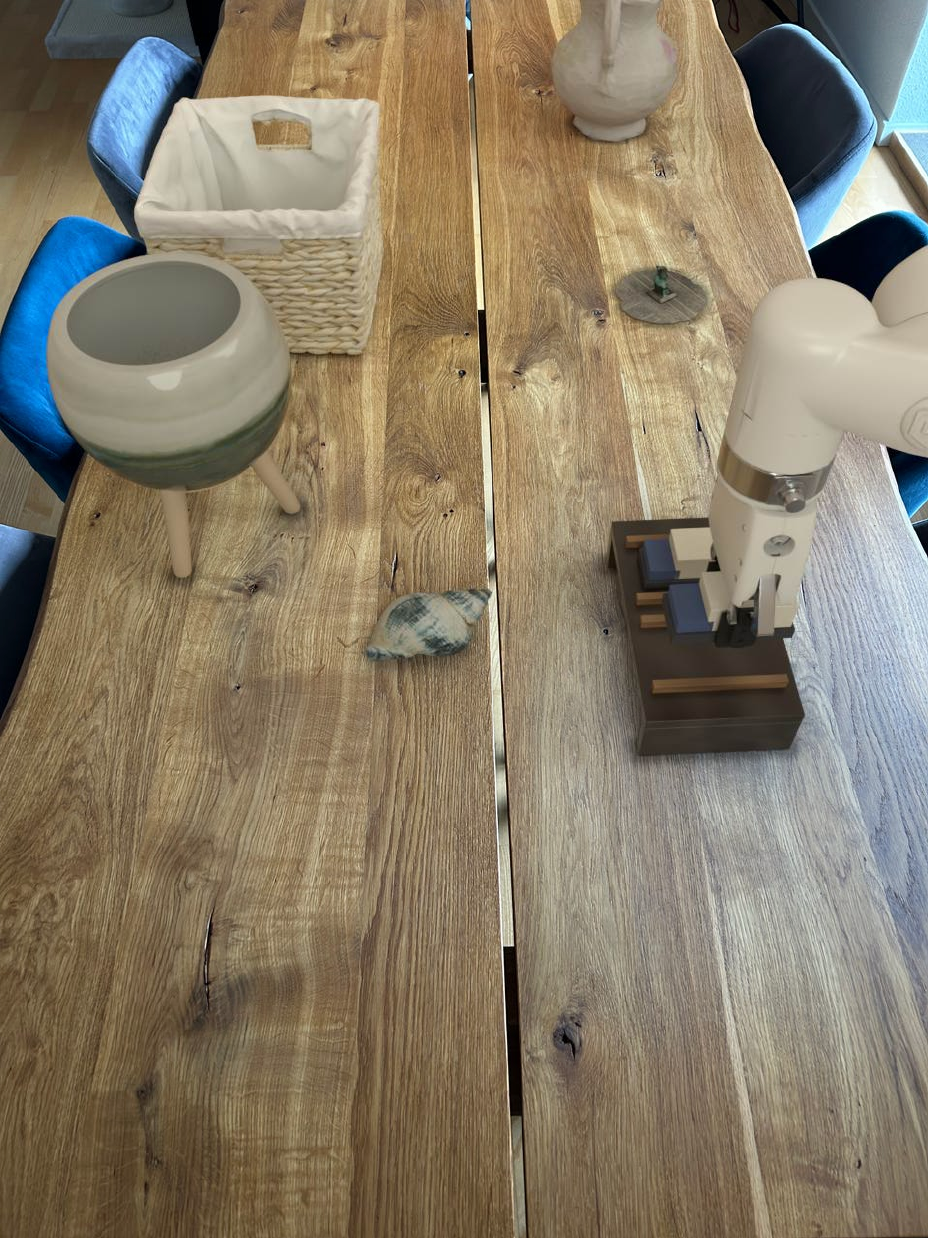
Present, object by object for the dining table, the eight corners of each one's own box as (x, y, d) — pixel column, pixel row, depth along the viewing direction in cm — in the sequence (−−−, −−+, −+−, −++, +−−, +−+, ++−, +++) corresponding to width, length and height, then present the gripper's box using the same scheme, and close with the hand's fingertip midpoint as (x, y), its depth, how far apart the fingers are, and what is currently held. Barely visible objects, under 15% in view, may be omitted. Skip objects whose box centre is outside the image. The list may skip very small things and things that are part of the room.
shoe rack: (736, 553, 108) (750, 508, 103) (789, 749, 94) (808, 709, 88) (606, 559, 108) (612, 514, 102) (638, 756, 93) (647, 716, 88)
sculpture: (631, 264, 141) (674, 232, 135) (672, 314, 144) (716, 284, 138) (602, 307, 134) (646, 275, 128) (646, 359, 137) (691, 329, 131)
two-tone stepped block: (738, 551, 100) (746, 523, 97) (747, 586, 98) (756, 559, 95) (637, 555, 100) (642, 528, 97) (644, 590, 98) (649, 563, 94)
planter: (147, 450, 120) (69, 237, 98) (332, 454, 119) (295, 240, 97) (95, 596, 107) (-9, 387, 84) (303, 602, 105) (253, 392, 83)
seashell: (376, 629, 105) (492, 636, 104) (362, 665, 98) (485, 674, 97) (374, 573, 102) (493, 580, 101) (359, 607, 95) (486, 615, 94)
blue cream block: (778, 595, 86) (789, 564, 82) (792, 638, 83) (804, 608, 80) (661, 601, 85) (667, 571, 82) (670, 644, 83) (677, 614, 80)
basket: (379, 367, 128) (362, 207, 111) (170, 366, 129) (121, 208, 112) (395, 246, 145) (382, 90, 127) (209, 245, 146) (172, 91, 128)
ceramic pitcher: (673, 166, 158) (714, -9, 139) (549, 160, 157) (572, -17, 138) (655, 100, 172) (689, -69, 152) (540, 94, 170) (560, -76, 151)
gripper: (865, 545, 64) (797, 701, 79) (798, 374, 75) (749, 540, 89) (748, 552, 64) (701, 707, 79) (697, 379, 75) (664, 544, 89)
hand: (727, 617), depth 84 cm, fingers closed on blue cream block, 4 cm apart
